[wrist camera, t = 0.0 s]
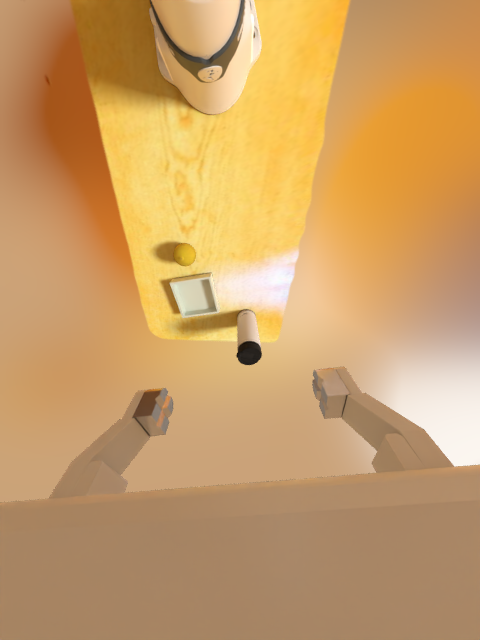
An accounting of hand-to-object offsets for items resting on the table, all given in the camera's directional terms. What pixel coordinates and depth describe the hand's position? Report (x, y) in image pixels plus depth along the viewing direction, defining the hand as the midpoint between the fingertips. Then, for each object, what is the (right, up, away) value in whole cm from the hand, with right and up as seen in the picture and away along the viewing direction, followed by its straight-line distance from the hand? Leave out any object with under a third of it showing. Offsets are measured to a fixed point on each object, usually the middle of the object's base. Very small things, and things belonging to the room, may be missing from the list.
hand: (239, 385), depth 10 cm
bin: (-13, +12, +49) cm, 52 cm away
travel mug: (+2, +5, +54) cm, 54 cm away
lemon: (-14, +23, +42) cm, 50 cm away
